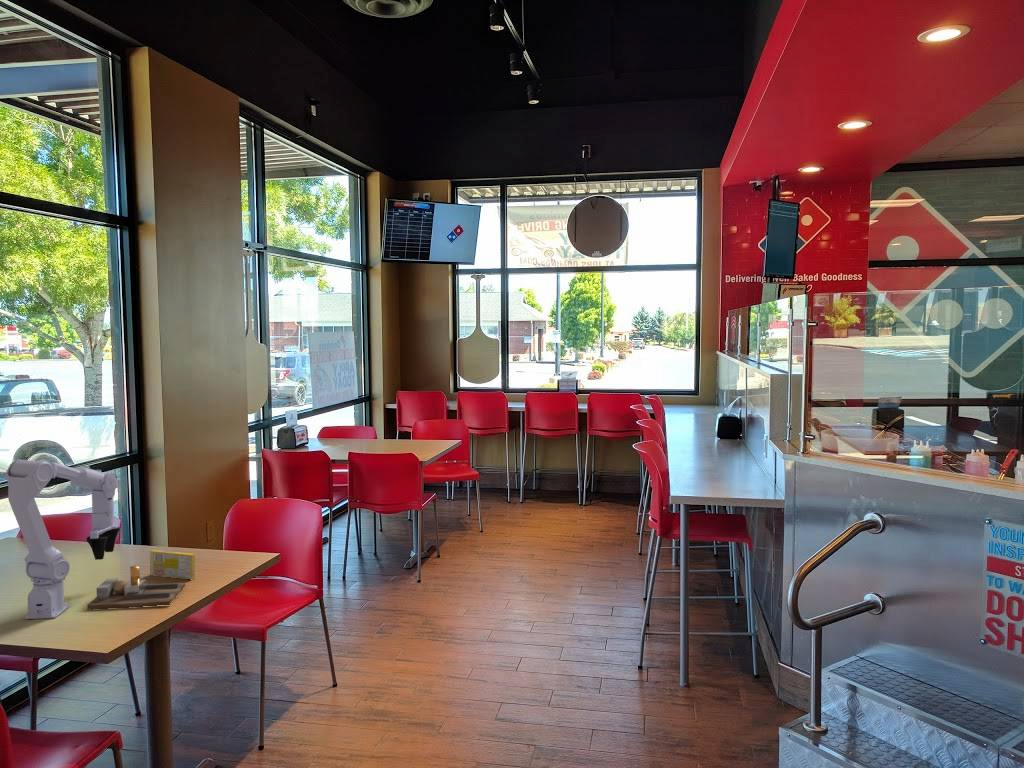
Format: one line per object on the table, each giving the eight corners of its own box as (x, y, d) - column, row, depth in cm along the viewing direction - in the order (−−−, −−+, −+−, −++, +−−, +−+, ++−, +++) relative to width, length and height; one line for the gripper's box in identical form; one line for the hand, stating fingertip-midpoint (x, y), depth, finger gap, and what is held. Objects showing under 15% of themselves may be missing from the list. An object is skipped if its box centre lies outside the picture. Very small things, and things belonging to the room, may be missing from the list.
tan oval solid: (126, 594, 214) (124, 581, 214) (112, 597, 214) (109, 584, 214) (131, 590, 218) (129, 577, 218) (117, 593, 218) (115, 580, 218)
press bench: (169, 606, 211) (168, 589, 210) (87, 610, 207) (86, 592, 207) (185, 587, 227) (185, 571, 226) (109, 590, 223) (109, 574, 223)
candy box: (196, 578, 235) (195, 553, 235) (191, 580, 233) (190, 555, 233) (154, 573, 240) (153, 549, 239) (149, 575, 237) (148, 550, 237)
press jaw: (139, 595, 214) (138, 569, 214) (124, 596, 213) (123, 570, 213) (146, 588, 220) (145, 563, 219) (131, 589, 219) (131, 563, 219)
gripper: (107, 517, 217) (108, 562, 218) (125, 505, 231) (126, 548, 232) (82, 517, 216) (83, 563, 217) (102, 506, 230) (103, 548, 231)
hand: (104, 555), depth 224 cm, fingers open, 7 cm apart
